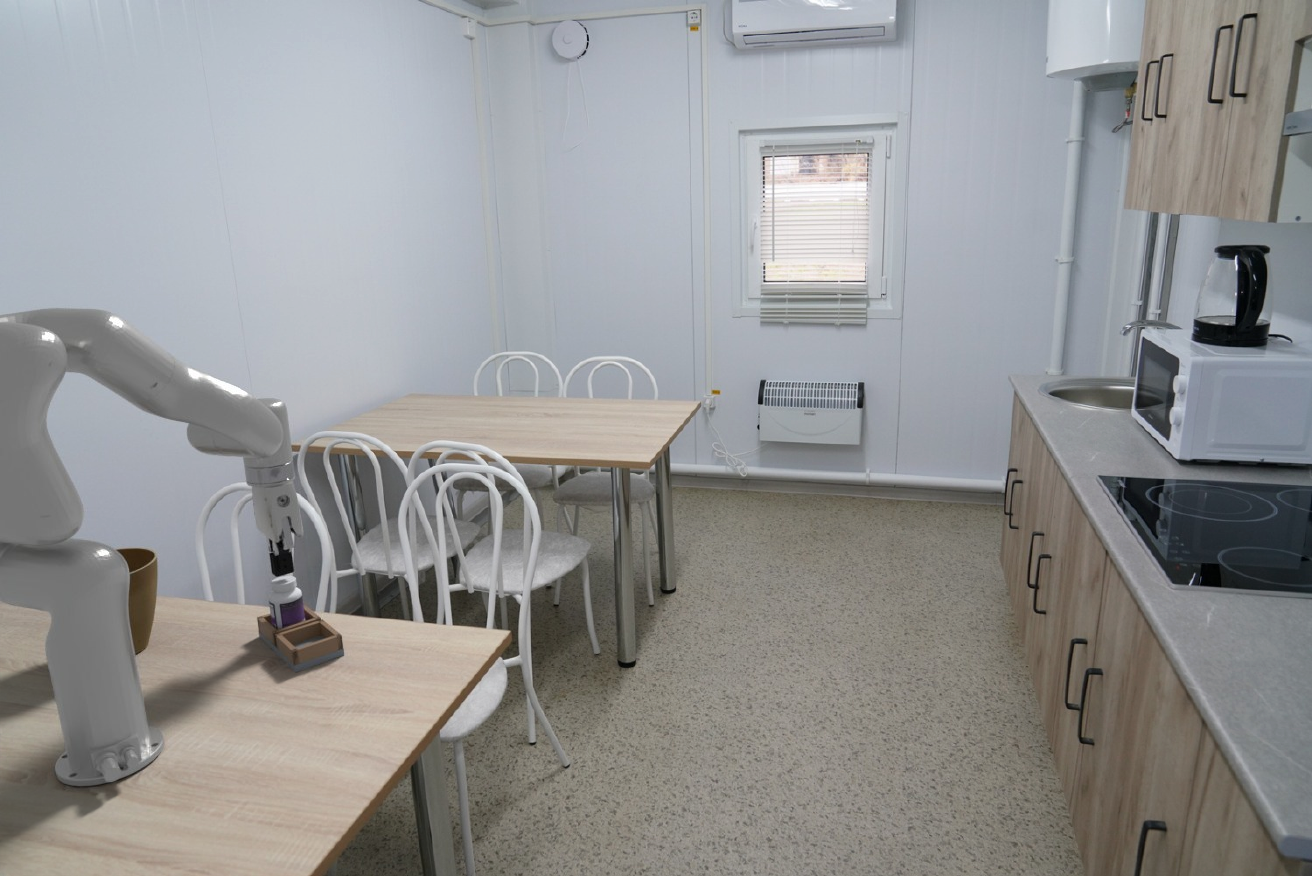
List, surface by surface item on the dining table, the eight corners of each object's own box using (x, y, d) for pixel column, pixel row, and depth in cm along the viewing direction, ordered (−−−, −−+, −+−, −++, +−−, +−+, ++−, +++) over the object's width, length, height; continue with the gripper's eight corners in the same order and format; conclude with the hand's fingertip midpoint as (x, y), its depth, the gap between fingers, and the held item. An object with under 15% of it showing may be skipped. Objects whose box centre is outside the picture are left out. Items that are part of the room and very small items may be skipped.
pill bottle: (312, 624, 151) (306, 574, 148) (296, 638, 146) (290, 587, 143) (283, 623, 151) (276, 573, 149) (267, 637, 146) (260, 586, 144)
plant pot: (142, 622, 155) (127, 541, 151) (189, 642, 147) (175, 557, 143) (52, 657, 142) (34, 570, 138) (98, 681, 135) (80, 589, 131)
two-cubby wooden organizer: (344, 654, 142) (342, 635, 141) (295, 672, 137) (292, 651, 136) (305, 621, 154) (303, 603, 154) (259, 636, 149) (256, 617, 148)
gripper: (309, 477, 138) (321, 580, 143) (277, 459, 149) (289, 555, 154) (262, 487, 133) (276, 593, 138) (232, 467, 144) (246, 567, 149)
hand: (283, 573), depth 146 cm, fingers closed
